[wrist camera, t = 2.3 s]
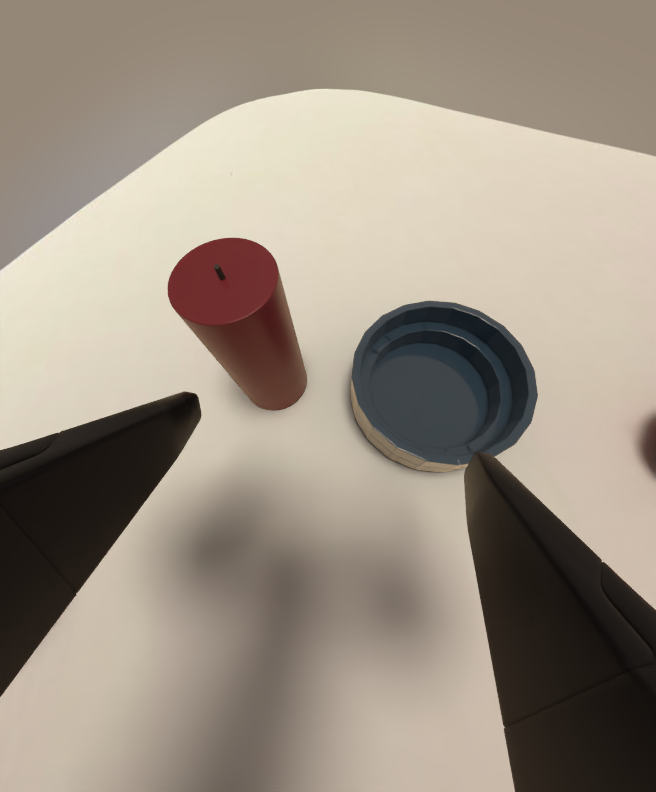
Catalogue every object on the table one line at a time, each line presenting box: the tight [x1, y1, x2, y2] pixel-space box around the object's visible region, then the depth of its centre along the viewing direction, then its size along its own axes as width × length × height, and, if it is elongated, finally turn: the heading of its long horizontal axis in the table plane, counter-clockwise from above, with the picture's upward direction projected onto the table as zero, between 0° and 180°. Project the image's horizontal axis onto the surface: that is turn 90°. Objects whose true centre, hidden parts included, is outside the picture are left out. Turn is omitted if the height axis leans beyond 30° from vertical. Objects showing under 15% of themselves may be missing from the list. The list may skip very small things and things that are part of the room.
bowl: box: [350, 301, 538, 472], centre depth 23 cm, size 13×13×4 cm
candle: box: [168, 238, 307, 410], centre depth 20 cm, size 6×6×13 cm
